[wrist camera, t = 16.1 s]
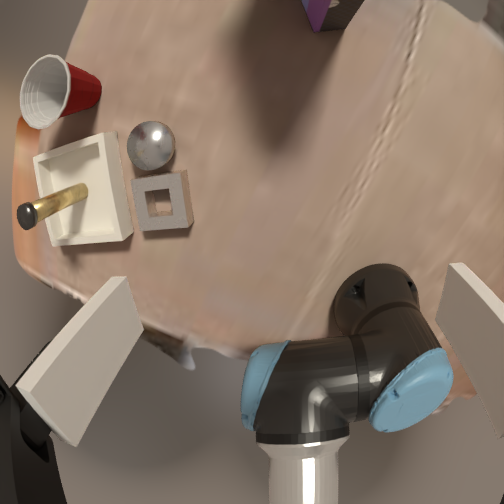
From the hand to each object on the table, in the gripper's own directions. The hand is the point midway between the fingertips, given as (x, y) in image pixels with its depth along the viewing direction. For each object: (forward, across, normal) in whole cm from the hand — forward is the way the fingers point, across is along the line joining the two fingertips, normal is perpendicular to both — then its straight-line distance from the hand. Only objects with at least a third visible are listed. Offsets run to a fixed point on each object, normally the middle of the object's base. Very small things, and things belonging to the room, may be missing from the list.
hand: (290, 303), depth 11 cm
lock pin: (+31, +34, -2) cm, 46 cm away
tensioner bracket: (+32, +18, -2) cm, 37 cm away
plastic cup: (+32, +30, -18) cm, 47 cm away
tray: (+32, +34, -2) cm, 46 cm away
